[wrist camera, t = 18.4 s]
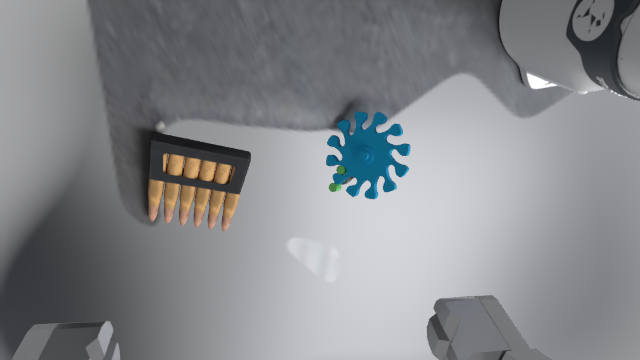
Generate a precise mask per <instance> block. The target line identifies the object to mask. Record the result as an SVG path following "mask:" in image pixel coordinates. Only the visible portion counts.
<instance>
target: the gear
mask: <svg viewBox="0 0 640 360" xmlns="http://www.w3.org/2000/svg"><path fill="white" fill-rule="evenodd" d="M367 118H368V114H367V113H364V112H356V113H355V120H356V128H355V131H354V134H353V135H350V134H349V129H350V126H351V124H350V121H349V120H343V121H341V122H339V123H338V128H339V129H340V130H341V131H342V133H343V134H344V138H345V145H344V146H343V147H342V146H341V145H340V140H339V137H337V136H335V135H332V136H331V137H330V138H329V140H328V142H327V144H328V145H329V146H331V147H335V148H336V149H338V150H339V151H340V153H341V154H342V156H343V158H342V160H341V161H339V160H338V158H337V157H336V156H335V155H328V156H327V160H326V164H327V165H328V166H334V165H341V166H338V167H337V173H335V174H334V175H333V180H334V182H335V183H331V184H330V185H329V189H330V191H332V192H335V191H339V190H340V189H341V184H342V185H343V184H347V183H348V182H350V181H351V180H352V179H353V178H356V179H357V184H356V185H352V186H349V187H348V188H347V189H346V191H347V192H348V193H349V194H350V195H351V196H352V197H354V196H357V195H358V194H359V190H360V187H361V185H362V184H363V183H364V182H365V181H366V180H368V181H370V183H371V187H370V188H369V189H368V190H367V191H366V192H365V197H366V198H369V199H376V198H377V197H378V192H377V181H378V179H379V177H380V176H383V177H384V179H385V183H384V186H383V190H384V192H390V191H393V190H394V189H396V188H397V187H396V184H395V183H394V182H393V181H392V180H391V178H390V176H389V171H388V167H389V165H393V166H394V167H395V172H396V175H397V176H399V177H403V176H404V175H405V174H406V173H407V172H408V170H409V168H408V167H407V166H406V165H402V164H400V163H398V162H396V161H395V159H394V158H393V157H392V155H391V153H392V151H393V150H394V149H396V150H397V151H398V152H399V154H400V155H402V156H407V155H409V153H410V145H409V144H401V145H393V144H390V143H388V142H387V136H388V135H390V134H391V135H394V136H401V135H402V134H403V131H402V128H401V126H400V124H394V125H392V126H391V128H390V129H389V130H387V131H385V132H382V133H377V131H376V127H377V125H379V124H384V123H385V122H386V121H387V119H388V118H387V117H386V116H385V115H384V114H382V113H381V112H377V113H376V114H375V115H374V120H373V122H372V124H371V125H370V126H369V127H368V128H367V129H366V130H363V129H362V124H363V123H364V122H365V121H366V120H367Z"/></svg>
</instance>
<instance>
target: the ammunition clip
mask: <svg viewBox="0 0 640 360" xmlns="http://www.w3.org/2000/svg"><path fill="white" fill-rule="evenodd" d="M168 154H169V158H168ZM185 157H186V159H185V165H184V168H183V164H184V158H185ZM167 158H168V164H167ZM201 160H202V161H201ZM250 161H251V153H250V152H248V151H244V150H238V149H234V148H229V147H224V146H219V145H214V144H210V143H205V142H200V141H195V140H190V139H185V138H180V137H175V136H171V135H166V134H161V133H156V132H155V133H154V134H153V136H152V139H151V141H150V169H149V187H148V197H149V207H148V211H149V217H150V220H151V221H153V220H154V219H155V218H156V216H157V213H158V210H159V204H160V200H161V197H162V194H163V187H164V182H165V191H164V199H165V202H164V218H165V221H166V223H169V222H170V220H171V218H172V216H173V213H174V209H175V205H176V201H177V199H178V195H179V189H180V185H181V192H180V210H179V219H180V224H181V225H184V224H185V222H186V220H187V218H188V215H189V211H190V208H191V204H192V202H193V199H194V195H195V189H196V187H197V189H196V195H195V208H194V225H195V227H196V228H197V227H198V226H199V224H200V223H201V221H202V218H203V215H204V211H205V208H206V205H207V203H208V201H209V196H210V191H211V190H212V191H211V196H210V201H209V206H210V207H209V214H208V227H209V229H212V228H213V226H214V225H215V223H216V220H217V218H218V214H219V211H220V208H221V206H222V204H223V200H224V196H225V192H226V196H225V200H224V211H223V216H222V230H223V231H225V230H226V229H227V228H228V226H229V224H230V222H231V219H232V216H233V213H234V211H235V209H236V206H237V203H238V199H239V196H240V192H241V189H242V186H243V183H244V180H245V176H246V173H247V170H248V167H249V164H250ZM200 162H201V166H200ZM216 164H217V166H216ZM231 167H232V169H231ZM199 168H200V171H199ZM215 168H216V171H215ZM230 171H231V174H230ZM214 173H215V174H214ZM182 176H183V177H182Z"/></svg>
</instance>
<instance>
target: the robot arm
mask: <svg viewBox="0 0 640 360" xmlns="http://www.w3.org/2000/svg"><path fill="white" fill-rule="evenodd" d="M499 27H500V35H501V39H502V43H503V45H504V47H505V49H506V51H507V53H508V54H509V55H510V57H511V58H512V59H513V60H514V61H515V62H516V63H517V64H518V66H519V67H520V71H521V76H522V80H523V83H524V84H525V86H527V87H529V88H532V89H540V88H546V87H552V86H560V87H563V88H565V89H568V90H570V91H573V92H576V93H579V94H585V93H587V92H589V91H597V90H602V89H607V90H608V91H609V92H612V93H614V94H616V95H619V96H622V97H627V98H631V99H634V100H639V101H640V0H502V4H501V10H500V18H499ZM434 310H435V312H436V314H435V315H434V316H432V317H431V318H430V319H429V322H428V325H427V338H428V342H429V346H430V348H431V351H432V353H433V355H434V356H435V357H437V358H438V359H439V360H552V359H550V358H549V357H547V356H546V355H544V354H543V353H541V352H540V351H538V350H537V349H530V347H529V346H528V344H527V343H526V341H525V340H524V339H523V338H522V336H521V334H520V333H519V331H518V330H517V328H516V327H515V325H514V324H513V322H512V321H511V319H510V318H509V316H508V315H507V313H506V312H505V310H504V309H503V308H502V306H501V304H500V303H499V301H498V300H497V299H496V298H495V297H494V296H492V295H487V296H474V297H473V296H467V297H454V298H442V299H439V300H437V301H436V303H435V305H434ZM112 333H113V328H112V326H111V323H110V321H105V322H83V323H82V322H81V323H59V324H58V323H57V324H42V325H34V326H33V327H32V328H31V329H30V330H29V331H28V332H27V334H26V336H25V337H24V339H23V341H22V342H21V344H20V346H19V348H18V349H17V351H16V353H15V355H14V356H13V358H12V360H120V351H119V346H118V343H117V342H116V341H115V340H113V339H111V336H112Z"/></svg>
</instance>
